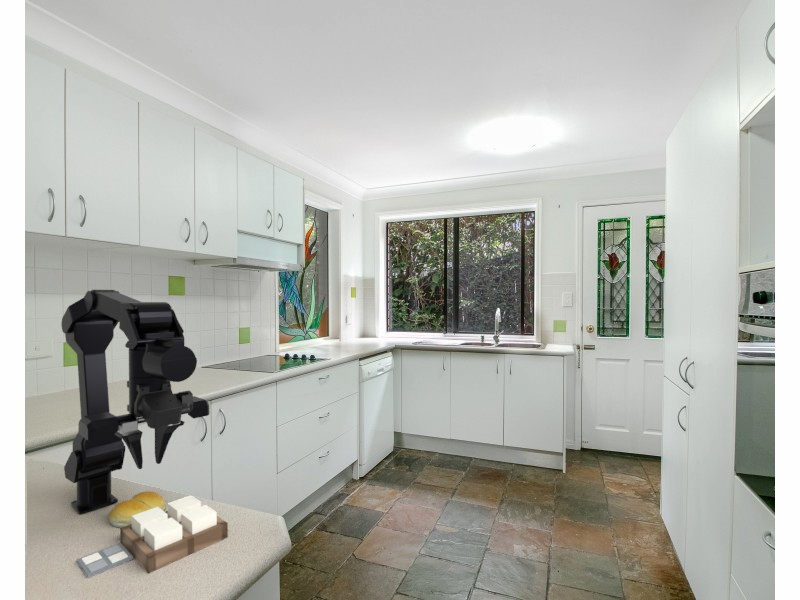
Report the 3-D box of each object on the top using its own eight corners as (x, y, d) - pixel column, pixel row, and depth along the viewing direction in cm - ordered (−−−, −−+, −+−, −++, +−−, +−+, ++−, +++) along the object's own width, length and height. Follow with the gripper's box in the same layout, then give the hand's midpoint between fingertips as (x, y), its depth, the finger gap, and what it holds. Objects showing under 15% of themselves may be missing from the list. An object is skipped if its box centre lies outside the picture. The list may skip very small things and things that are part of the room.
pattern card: (76, 561, 68) (76, 558, 68) (120, 545, 72) (120, 542, 72) (87, 577, 64) (87, 574, 64) (132, 559, 68) (132, 555, 68)
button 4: (181, 530, 74) (181, 513, 74) (205, 521, 77) (205, 504, 77) (192, 539, 71) (192, 521, 71) (216, 529, 74) (216, 512, 74)
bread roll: (100, 525, 79) (99, 503, 79) (145, 503, 88) (144, 483, 88) (130, 534, 76) (130, 511, 76) (174, 510, 84) (174, 490, 84)
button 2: (144, 545, 70) (144, 527, 69) (171, 534, 73) (171, 517, 73) (154, 556, 67) (154, 536, 67) (182, 544, 70) (182, 525, 70)
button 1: (131, 533, 73) (131, 515, 73) (158, 523, 76) (157, 506, 76) (140, 542, 71) (140, 524, 71) (167, 531, 74) (167, 514, 74)
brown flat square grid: (120, 542, 73) (120, 527, 73) (194, 513, 83) (194, 500, 83) (148, 573, 65) (148, 556, 65) (227, 537, 75) (227, 523, 75)
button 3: (167, 519, 78) (167, 503, 78) (191, 510, 81) (190, 495, 81) (177, 527, 75) (177, 510, 75) (201, 518, 78) (201, 501, 78)
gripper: (98, 391, 61) (99, 500, 61) (224, 373, 75) (224, 461, 75) (77, 381, 68) (77, 478, 68) (195, 366, 82) (195, 447, 83)
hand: (149, 465), depth 73 cm, fingers open, 3 cm apart
